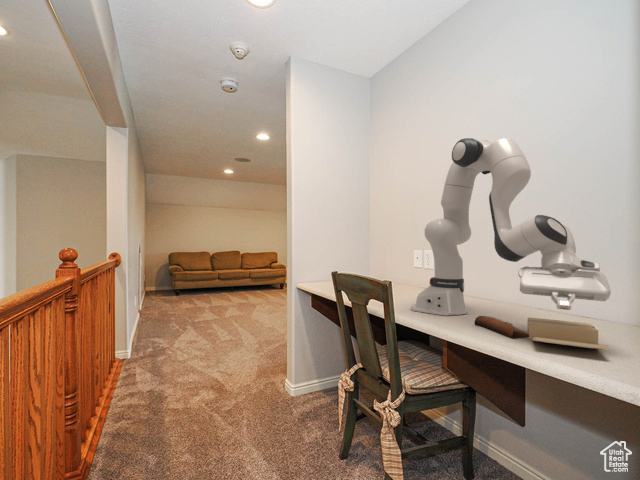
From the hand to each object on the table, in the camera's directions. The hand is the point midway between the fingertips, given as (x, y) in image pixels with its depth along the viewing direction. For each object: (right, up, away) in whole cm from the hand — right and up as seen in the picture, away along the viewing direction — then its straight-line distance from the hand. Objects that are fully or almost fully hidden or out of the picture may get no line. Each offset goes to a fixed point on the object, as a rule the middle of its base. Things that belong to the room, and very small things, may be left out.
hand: (564, 308), depth 86 cm
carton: (+7, -12, +11) cm, 17 cm away
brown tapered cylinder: (-5, -13, +20) cm, 24 cm away
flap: (+4, -11, +6) cm, 14 cm away
